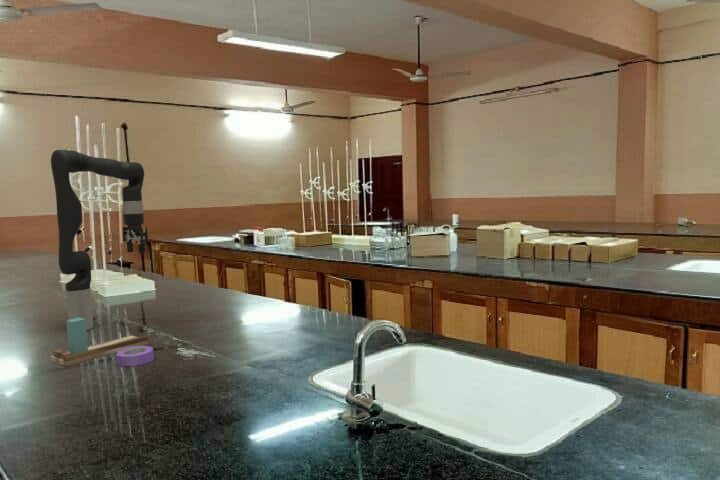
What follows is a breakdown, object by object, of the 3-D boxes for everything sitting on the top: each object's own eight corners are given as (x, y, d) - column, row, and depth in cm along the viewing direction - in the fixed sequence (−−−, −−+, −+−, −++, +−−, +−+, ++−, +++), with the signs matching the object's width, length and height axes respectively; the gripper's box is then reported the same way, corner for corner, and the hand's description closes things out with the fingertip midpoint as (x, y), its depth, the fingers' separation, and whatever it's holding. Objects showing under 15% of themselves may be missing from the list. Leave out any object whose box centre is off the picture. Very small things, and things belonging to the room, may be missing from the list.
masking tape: (118, 369, 176) (117, 358, 175) (115, 359, 186) (115, 349, 186) (155, 363, 181) (155, 352, 181) (151, 354, 192) (151, 343, 191)
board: (50, 360, 187) (49, 350, 187) (131, 339, 211) (130, 330, 211) (66, 366, 180) (65, 356, 180) (148, 343, 204) (147, 334, 203)
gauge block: (69, 353, 189) (66, 320, 187) (82, 350, 192) (79, 317, 191) (75, 356, 186) (72, 322, 185) (88, 352, 190) (85, 319, 188)
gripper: (114, 212, 215) (118, 253, 217) (134, 213, 207) (137, 255, 208) (132, 211, 221) (135, 251, 223) (152, 212, 213) (154, 252, 214)
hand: (136, 252), depth 216 cm, fingers open, 8 cm apart
